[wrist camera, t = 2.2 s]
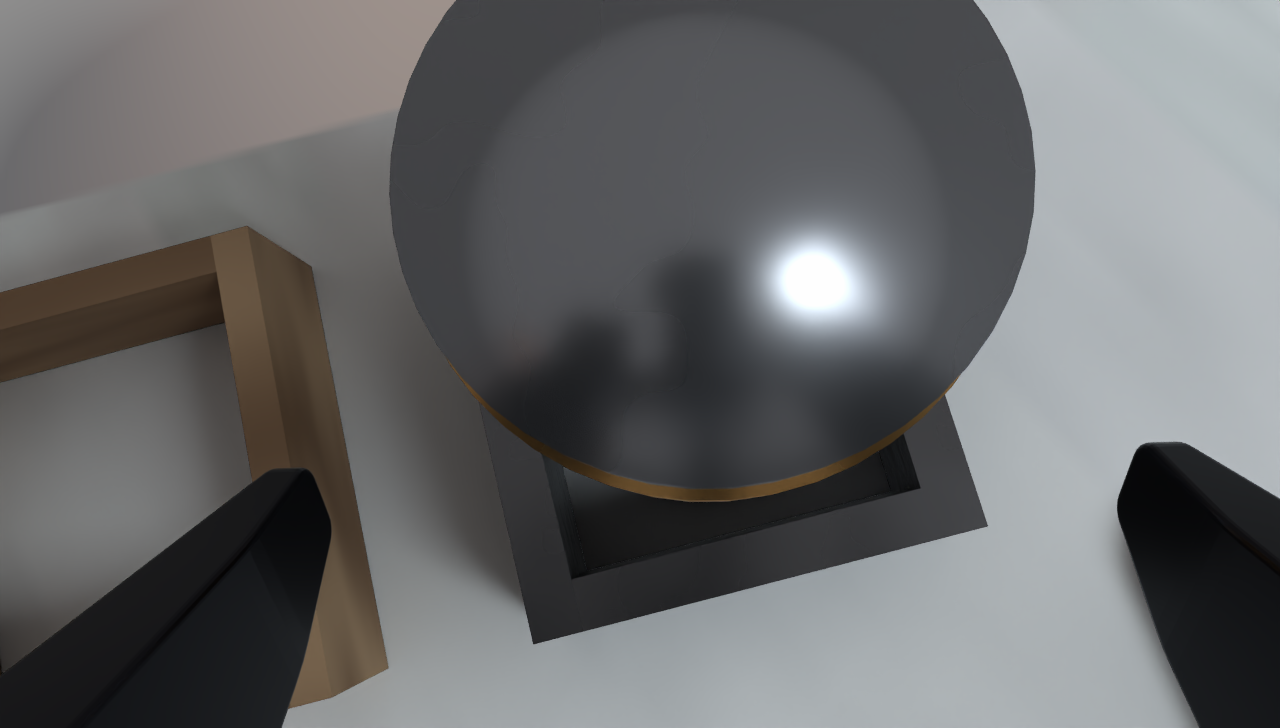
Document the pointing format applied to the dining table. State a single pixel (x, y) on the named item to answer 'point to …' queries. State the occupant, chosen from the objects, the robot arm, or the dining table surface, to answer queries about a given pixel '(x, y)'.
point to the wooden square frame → (266, 386)
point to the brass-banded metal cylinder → (711, 226)
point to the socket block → (587, 599)
